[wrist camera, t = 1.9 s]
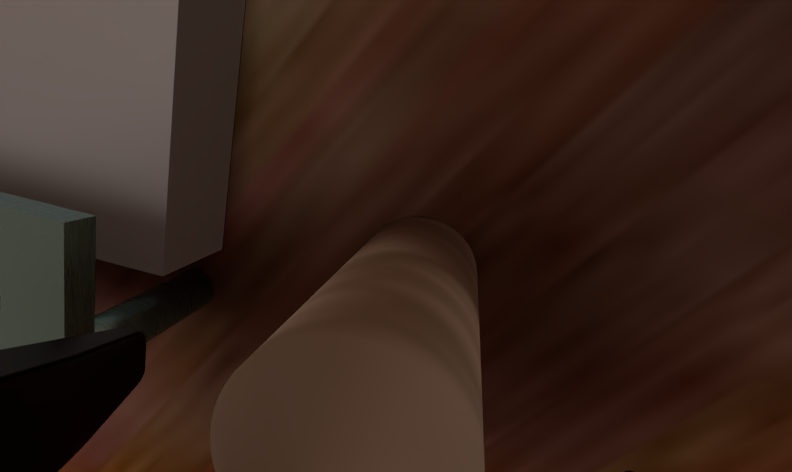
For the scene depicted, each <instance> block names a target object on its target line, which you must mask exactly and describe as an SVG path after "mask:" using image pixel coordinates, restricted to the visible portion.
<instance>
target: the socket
mask: <svg viewBox="0 0 792 472" xmlns="http://www.w3.org/2000/svg"><path fill="white" fill-rule="evenodd" d="M245 3H246V0H0V192H4V193H8V194H12V195H16V196H20V197H24V198H27V199H31V200H35V201H39V202H43V203H47V204H51V205H55V206H59V207H63V208H67V209H71V210H75V211H79V212H83V213H87V214H91V215H95V216H96V259H98V260H102V261H106V262H110V263H114V264H117V265H121V266H125V267H129V268H132V269H136V270H140V271H144V272H148V273H151V274H155V275H159V276H165V275H167V274H169V273H171V272H173V271H176V270H178V269H180V268H182V267H184V266H187V265H189V264H191V263H193V262H195V261H198V260H200V259H202V258H204V257H206V256H209V255H211V254H213V253H215V252H217V251H220V250H222V244H223V234H224V223H225V213H226V202H227V192H228V181H229V171H230V160H231V150H232V139H233V129H234V118H235V108H236V97H237V87H238V76H239V66H240V55H241V45H242V34H243V24H244V13H245Z"/></svg>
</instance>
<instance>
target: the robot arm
mask: <svg viewBox="0 0 792 472" xmlns="http://www.w3.org/2000/svg"><path fill="white" fill-rule="evenodd" d="M145 357H146V337H145V335H144V334H143V333H142V332H140V331H137V330H133V329H130V328H125V327H121V328H115V329H110V330H105V331H99V332H94V333H88V334H83V335H77V336H72V337H66V338H61V339H56V340H50V341H45V342H39V343H34V344H28V345H23V346H18V347H12V348H7V349H1V350H0V472H58V471H59V470H60V469H61V468H62V467H63V466H64V465H65V464H66V463H67V462H68V461H69V460H70V459H71V458H72V457H73V456H74V455H75V454H76V453H77V452H78V451H79V450H80V449H81V448H82V447H83V446H84V445H85V444H86V443H87V442H88V440H89V439H90V438H91V437H92V436H93V435H94V434H95V433H96V431H97V430H98V429H99V428H100V427H101V426H102V425H103V423H104V422H105V421H106V420H107V419H108V418H109V417H110V415H111V414H112V413H113V412H114V411H115V410H116V409H117V407H118V406H119V405H120V404H121V403H122V402H123V401H124V399H125V398H126V397H127V396H128V395H129V394H130V393H131V391H132V390H133V389H134V388H135V387H136V386H137V385H138V383H139V382H140V380H141V379H142V377H143V375H144V371H145ZM625 472H633V471H625Z"/></svg>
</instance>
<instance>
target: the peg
mask: <svg viewBox="0 0 792 472" xmlns="http://www.w3.org/2000/svg"><path fill="white" fill-rule="evenodd" d="M210 446H211V456H212V460H213V465H214V469H215V472H485V461H484V435H483V408H482V382H481V356H480V329H479V303H478V277H477V265H476V261H475V257H474V254H473V252H472V250H471V248H470V246H469V244H468V243H467V242H466V240H465V239H464V238H463V237H462V236H461V234H460V233H459V232H457V231H456V230H455V229H454V228H452V227H451V226H449V225H448V224H446V223H444V222H442V221H439V220H436V219H433V218H429V217H421V216H414V217H406V218H401V219H398V220H396V221H393V222H391V223H389V224H388V225H386V226H385V227H383V228H382V229H381V230H380V231H378V232H377V233H376V234H375V235H374V236H373V237H372V238H371V239H370V240H369V241H368V242H367V243H366V244H365V245H364V246H363V247H362V248H361V249H360V250H359V251H358V252H357V253H356V254H355V255H354V256H353V257H352V258H351V259H350V260H349V261H348V262H347V263H345V264H344V265H343V266H342V267H341V268H340V269H339V270H338V271H337V272H336V273H335V274H334V275H333V276H332V277H331V278H330V279H329V280H328V281H327V282H326V283H325V284H324V285H323V286H322V287H321V288H320V289H319V290H318V291H317V292H316V293H315V294H314V295H313V296H312V297H310V298H309V299H308V300H307V301H306V302H305V303H304V304H303V305H302V306H301V307H300V308H299V309H298V310H297V311H296V312H295V313H294V314H293V315H292V316H291V317H290V318H289V319H288V320H287V321H286V322H285V323H284V324H283V325H282V326H281V327H280V328H279V329H278V330H276V331H275V332H274V333H273V334H272V335H271V336H270V337H269V338H268V339H267V340H266V341H265V342H264V343H263V344H262V345H261V346H260V347H259V348H258V349H257V350H256V351H255V352H254V353H253V354H252V355H251V356H250V357H249V358H248V359H247V360H246V361H245V362H244V363H243V364H241V365H240V366H239V367H238V368H237V369H236V370H235V371H234V373H233V374H232V375H231V377H230V378H229V379H228V381H227V382H226V383H225V385H224V387H223V389H222V391H221V392H220V394H219V396H218V399H217V402H216V404H215V407H214V410H213V415H212V420H211V426H210Z"/></svg>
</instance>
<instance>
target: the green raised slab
mask: <svg viewBox="0 0 792 472" xmlns="http://www.w3.org/2000/svg"><path fill="white" fill-rule="evenodd" d="M95 266H96V216H95V215H91V214H87V213H83V212H79V211H75V210H71V209H67V208H63V207H59V206H55V205H51V204H47V203H43V202H39V201H35V200H31V199H27V198H24V197H20V196H16V195H12V194H8V193H4V192H0V350H1V349H7V348H12V347H18V346H23V345H28V344H34V343H39V342H45V341H50V340H56V339H61V338H66V337H72V336H77V335H83V334H88V333H94V332H99V331H105V330H110V329H115V328H121V327H125V328H130V329H133V330H137V331H140V332H142V333H143V334H144V335H145V337H146V343H147V342H148V341H150V340H151V339H153V338H154V337H156V336H158V335H159V334H161V333H162V332H164V331H165V330H167V329H169V328H170V327H172V326H173V325H175V324H176V323H178V322H180V321H181V320H183V319H184V318H186V317H187V316H189V315H191V314H192V313H194V312H195V311H197V310H198V309H200V308H202V307H203V306H205V305H206V304H208V303H209V302H210V301H211V299H212V297H213V286H212V283H211V281H210V280H209V278H208V277H207V276H206V275H205V274H203V273H202V272H199V271H195V270H191V271H187V272H185V273H183V274H181V275H179V276H177V277H174V278H172V279H170V280H168V281H166V282H164V283H162V284H160V285H158V286H156V287H154V288H151V289H149V290H147V291H145V292H143V293H141V294H139V295H137V296H135V297H133V298H130V299H128V300H126V301H124V302H122V303H120V304H118V305H116V306H114V307H112V308H110V309H107V310H105V311H103V312H101V313H99V314H97V315H95ZM92 437H93V436H92ZM92 437H91V438H92Z"/></svg>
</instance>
